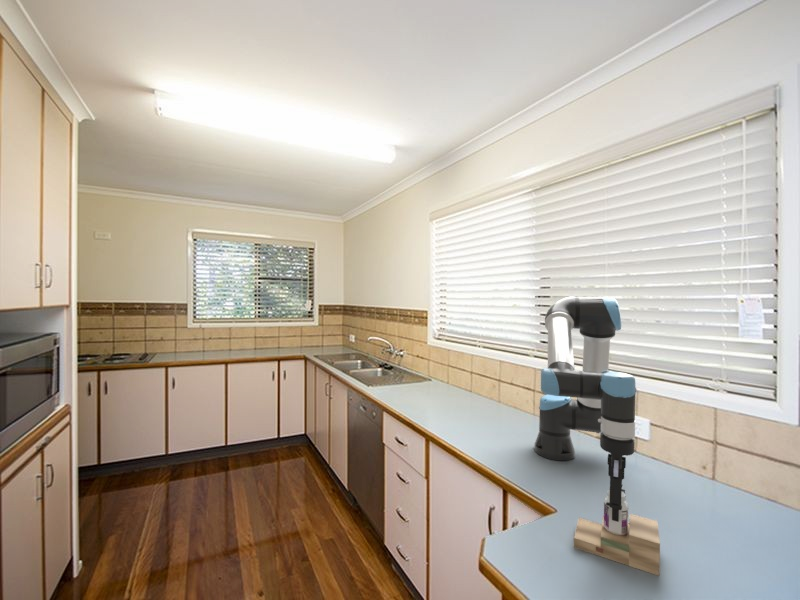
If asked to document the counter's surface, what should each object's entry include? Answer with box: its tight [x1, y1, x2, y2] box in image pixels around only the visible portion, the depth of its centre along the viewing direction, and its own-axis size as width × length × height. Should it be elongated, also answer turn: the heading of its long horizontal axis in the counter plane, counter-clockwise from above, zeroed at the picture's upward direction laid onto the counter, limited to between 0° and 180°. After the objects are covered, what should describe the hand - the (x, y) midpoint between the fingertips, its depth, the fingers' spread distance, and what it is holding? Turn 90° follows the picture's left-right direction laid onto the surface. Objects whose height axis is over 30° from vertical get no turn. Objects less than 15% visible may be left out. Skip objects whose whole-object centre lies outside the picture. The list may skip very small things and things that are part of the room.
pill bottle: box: [603, 488, 629, 535], centre depth 95 cm, size 5×5×10 cm
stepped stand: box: [573, 513, 661, 577], centre depth 95 cm, size 10×18×8 cm, turn 58°
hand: (615, 524), depth 95 cm, fingers open, 6 cm apart
